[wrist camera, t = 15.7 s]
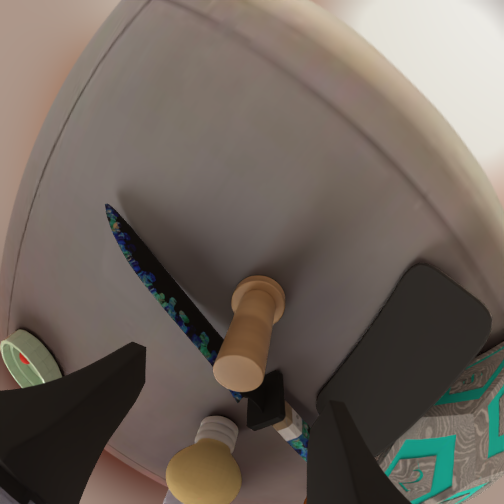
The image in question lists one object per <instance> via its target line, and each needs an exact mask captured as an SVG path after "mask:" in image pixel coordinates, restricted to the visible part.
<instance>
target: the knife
mask: <svg viewBox="0 0 504 504" xmlns="http://www.w3.org/2000/svg"><path fill="white" fill-rule="evenodd" d="M105 207H106V214H107V218H108V221H109V224H110V227H111V229H112V232H113V234H114V236H115V238H116V241H117V243H118V245H119V247H120V248H121V250H122V252H123V254H124V256H125V257H126V259H127V261H128V262H129V264H130V265H131V267H132V268H133V270H134V271H135V273H136V274H137V275H138V277H139V278H140V279H141V281H142V282H143V283H144V285H145V286H146V287H147V288H148V290H149V291H150V292H151V293H152V295H153V296H154V297H155V298H156V300H157V301H158V302H159V303H160V305H161V306H162V307H163V308H164V309H165V311H166V312H167V313H168V314H169V315H170V316H171V318H172V319H173V320H174V321H175V322H176V323H177V325H178V326H179V327H180V328H181V329H182V330H183V332H184V333H185V334H186V335H187V336H188V338H189V339H190V340H191V341H192V342H193V343H194V345H195V346H196V347H197V348H198V349H199V350H200V352H201V353H202V354H203V355H204V356H205V358H206V359H207V360H208V361H209V362H210V363H211V365H212V366H214V363H215V360H216V358H217V356H218V353H219V351H220V348H221V346H222V344H223V341H224V339H223V338H222V337H221V336H220V335H219V333H218V332H217V331H216V330H215V329H214V328H213V326H212V325H211V324H210V323H209V322H208V320H207V319H206V318H205V317H204V316H203V314H202V313H201V312H200V311H199V309H198V308H197V307H196V306H195V304H194V303H193V302H192V301H191V300H190V298H189V297H188V296H187V295H186V294H185V292H184V291H183V290H182V289H181V288H180V286H179V285H178V284H177V283H176V282H175V280H174V279H173V278H172V277H171V275H170V274H169V273H168V272H167V271H166V269H165V268H164V267H163V266H162V265H161V263H160V262H159V261H158V260H157V258H156V257H155V256H154V255H153V254H152V252H151V251H150V250H149V249H148V247H147V246H146V245H145V244H144V242H143V241H142V240H141V239H140V238H139V236H138V235H137V234H136V233H135V231H134V230H133V229H132V228H131V226H130V225H129V224H128V223H127V222H126V221H125V220H124V219H123V218H122V217H121V216H120V214H119V213H118V212H117V211H116V210H115V209H114V208H113V207H111V206H110V205H109V204H105ZM229 390H230V389H229ZM230 392H231V394H232V395H233V397H234V398H235V400H236V401H237V403H239V401H240V400H241V399H242V398H243V397H246V398H248V408H247V427H249V428H250V429H252V430H254V431H256V430H259V429H262V428H265V427H267V426H270V425H272V426H273V427H274V428H275V429H276V430H277V431H278V433H279V434H280V435H281V436H282V437H283V438H284V439H285V440H286V441H287V442H288V443H289V444H290V445H291V446H292V447H293V448H294V449H295V451H296V452H297V453H298V454H299V455H300V456H301V457H302V458H303V459H304V460H305V461H306V462H307V449H308V441H309V434H310V429H311V428H310V426H309V425H308V424H307V423H306V422H305V421H304V420H303V419H302V418H301V417H300V416H299V415H298V414H297V413H296V412H295V410H294V409H293V408H292V407H291V406H290V405H289V404H288V403H287V402H286V401H285V399H284V389H283V377H282V374H281V373H279V372H278V371H274V372H272V373H270V374H268V375H266V376H264V379H263V382H262V384H261V385H260V386H259V387H258V388H256V389H254V390H252V391H248V392H237V391H233V390H230Z"/></svg>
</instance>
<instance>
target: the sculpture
mask: <svg viewBox="0 0 504 504" xmlns="http://www.w3.org/2000/svg"><path fill="white" fill-rule="evenodd" d="M377 463H378V464H379V466H380V467H381V469H382V470H383V472H384V473H385V474H386V475H387V477H388V478H389V479H390V480H391V482H392V483H393V484H394V485H395V487H396V488H397V489H398V490H399V491H400V492H401V493H402V494H403V495H404V496H405V497H406V498H407V499H408V500H409V501H410V502H411V503H412V504H462V503H464V502H466V501H468V500H470V499H472V498H474V497H476V496H478V495H479V494H481V493H482V492H483V491H484V490H486V489H487V488H489V487H490V486H491V485H492V484H494V483H495V482H496V481H497V480H498V479H499V478H501V477H502V476H503V475H504V341H503V342H502V343H500V344H499V345H497V346H495V347H494V348H492V349H490V350H489V351H487V352H485V353H483V354H481V355H480V356H478V357H476V358H474V359H473V361H472V362H471V363H470V364H469V366H468V367H467V368H466V369H465V371H464V372H463V373H462V374H461V376H460V377H459V378H458V379H457V380H456V381H455V383H454V384H453V385H452V386H451V387H450V388H449V389H448V391H447V392H446V393H445V394H444V395H443V396H442V397H441V398H440V399H439V400H438V401H437V402H436V403H435V405H434V406H433V407H432V408H431V409H430V410H429V411H428V412H427V413H426V414H425V415H424V416H423V417H422V418H421V419H419V420H418V421H417V422H416V423H415V424H414V425H413V426H412V427H411V428H410V429H409V430H408V431H407V432H405V433H404V434H403V435H402V436H401V437H400V438H399V439H397V440H396V441H395V442H394V443H393V444H391V445H390V446H389V447H388V448H387V449H385V450H384V451H383V452H382V454H381V455H380V457H379V459H378V460H377Z"/></svg>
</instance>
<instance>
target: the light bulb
mask: <svg viewBox="0 0 504 504" xmlns="http://www.w3.org/2000/svg"><path fill="white" fill-rule="evenodd" d="M237 436H238V427H237V426H236V424H235V423H234V422H232V421H231V420H230V419H228V418H225V417H222V416H209V417H206V418H204V419H203V420H202V422H201V425H200V428H199V430H198V434H197V435H196V438H195V444H193V445H191V446H189V447H186V448H184V449H183V450H181V451H179V452H178V453H177V454H176V455H175V456H173V458H172V459H171V460H170V462H169V464H168V467H167V470H166V481H167V485H168V487H169V490H170V491H171V493H172V494H173V495H174V496H175V497H176V498H177V499H178V500H179V501H180V502H182V503H184V504H229V503H230V502H232V501H233V500H234V499H235V497H236V496H237V494H238V493H239V490H240V487H241V482H242V478H241V472H240V469H239V466H238V465H237V463H236V461H235V459H234V458H233V456H232V455H231V454H232V453H233V451H234V448H235V443H236V440H237Z"/></svg>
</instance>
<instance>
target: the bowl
mask: <svg viewBox="0 0 504 504" xmlns="http://www.w3.org/2000/svg"><path fill="white" fill-rule="evenodd" d="M0 349H1V354H2V357H3V360H4V362H5V364H6V366H7V368H8V370H9V371H10V373H11V374H12V376H13V377H14V379H15V380H16V381H17V383H18V384H19V385H20V386H21V387H22V388H25V387H30V386H34V385H39V384H43V383H46V382H49V381H52V380H55V379H58V378H61V377H62V375H61V372H60V370H59V367H58V365H57V363H56V361H55V360H54V358H53V356H52V355H51V354H50V352H49V351H48V350H47V348H46V347H45V346H44V345H43V344H42V343H41V342H40V341H39V340H38V339H37V338H36V337H34V336H33V335H31V334H30V333H28V332H27V331H24V330H21V329H19V330H16V331H15V332H13V333H12V334H11V335H9V336H8V337H7V338H5V339H4V340H3V341H2V342H1V345H0ZM20 353H21V354H22V355H23V356H24V357H25V358H26V359H27V360H28V361H29V363H30V364H24V363H23V362H22V361H21V360H20V357H19V354H20Z"/></svg>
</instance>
